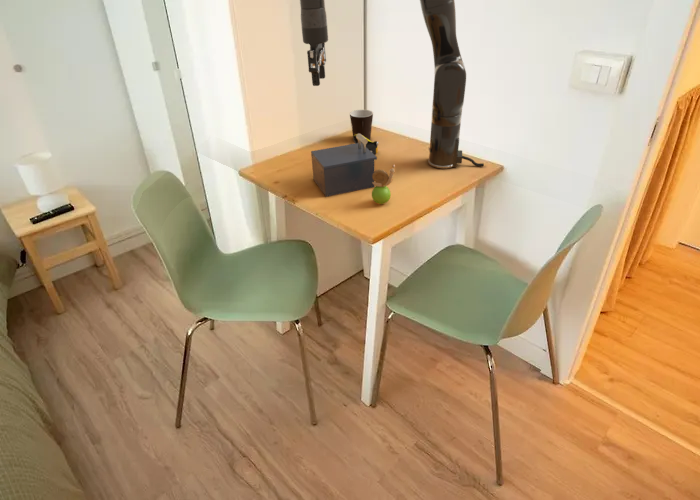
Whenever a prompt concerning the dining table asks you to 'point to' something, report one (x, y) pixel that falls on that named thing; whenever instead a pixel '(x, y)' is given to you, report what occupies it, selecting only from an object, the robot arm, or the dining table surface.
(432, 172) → the dining table surface
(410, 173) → the dining table surface
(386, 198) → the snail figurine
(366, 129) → the coffee mug
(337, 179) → the compartment
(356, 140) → the gaming controller
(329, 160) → the lid
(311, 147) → the dining table surface
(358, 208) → the dining table surface
